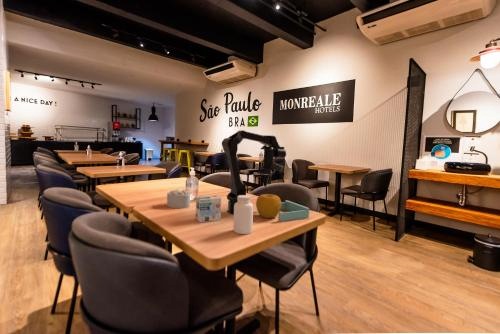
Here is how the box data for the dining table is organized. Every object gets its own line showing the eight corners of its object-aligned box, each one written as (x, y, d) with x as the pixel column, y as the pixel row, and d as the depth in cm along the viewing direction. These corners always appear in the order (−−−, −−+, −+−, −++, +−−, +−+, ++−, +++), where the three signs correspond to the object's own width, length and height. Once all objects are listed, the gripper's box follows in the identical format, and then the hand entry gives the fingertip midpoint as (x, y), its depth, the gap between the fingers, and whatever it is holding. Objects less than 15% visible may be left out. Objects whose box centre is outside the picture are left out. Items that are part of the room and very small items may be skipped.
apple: (251, 214, 138) (252, 192, 136) (273, 212, 143) (274, 191, 142) (262, 221, 126) (263, 197, 125) (285, 219, 131) (286, 196, 130)
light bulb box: (199, 222, 120) (199, 199, 119) (195, 218, 126) (195, 196, 125) (221, 220, 125) (221, 198, 124) (216, 216, 131) (216, 195, 130)
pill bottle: (233, 228, 114) (234, 194, 113) (251, 228, 115) (252, 194, 114) (233, 234, 106) (234, 198, 105) (253, 234, 107) (254, 198, 106)
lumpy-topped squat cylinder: (178, 202, 157) (179, 188, 156) (194, 206, 149) (194, 191, 149) (164, 205, 148) (164, 190, 147) (180, 209, 141) (180, 193, 140)
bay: (279, 221, 126) (280, 211, 125) (259, 211, 143) (259, 202, 142) (309, 218, 134) (309, 208, 134) (286, 208, 152) (286, 200, 151)
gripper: (281, 159, 137) (278, 189, 138) (284, 158, 155) (282, 184, 156) (260, 158, 139) (258, 187, 140) (265, 157, 157) (264, 182, 158)
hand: (266, 185), depth 149 cm, fingers open, 9 cm apart
